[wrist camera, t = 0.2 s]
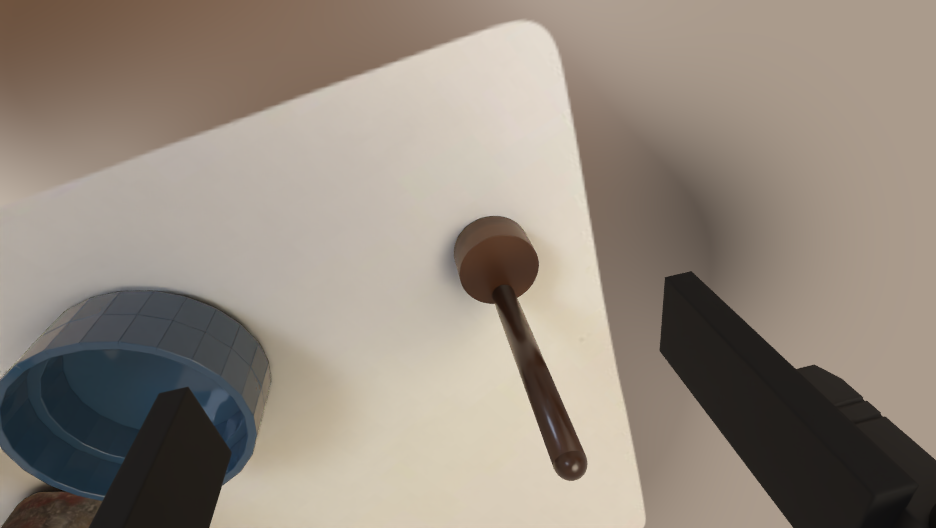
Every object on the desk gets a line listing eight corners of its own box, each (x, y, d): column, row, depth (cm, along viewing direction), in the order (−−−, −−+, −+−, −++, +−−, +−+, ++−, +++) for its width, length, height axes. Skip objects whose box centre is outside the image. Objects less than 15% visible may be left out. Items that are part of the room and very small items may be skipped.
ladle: (447, 225, 34) (502, 422, 19) (523, 208, 34) (637, 388, 19) (460, 288, 37) (517, 502, 22) (530, 272, 37) (634, 472, 22)
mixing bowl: (-5, 314, 32) (-77, 377, 27) (222, 264, 33) (194, 316, 28) (118, 455, 40) (81, 525, 35) (299, 412, 41) (288, 474, 36)
